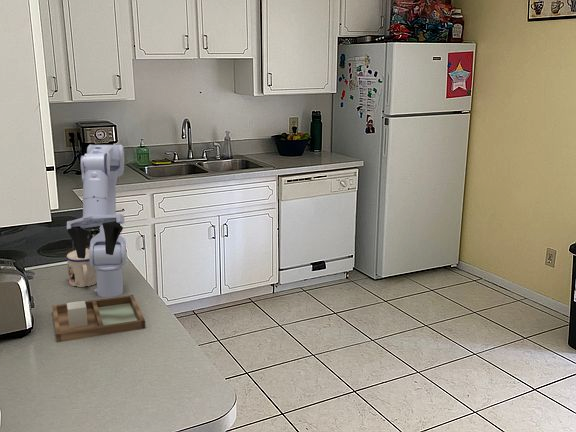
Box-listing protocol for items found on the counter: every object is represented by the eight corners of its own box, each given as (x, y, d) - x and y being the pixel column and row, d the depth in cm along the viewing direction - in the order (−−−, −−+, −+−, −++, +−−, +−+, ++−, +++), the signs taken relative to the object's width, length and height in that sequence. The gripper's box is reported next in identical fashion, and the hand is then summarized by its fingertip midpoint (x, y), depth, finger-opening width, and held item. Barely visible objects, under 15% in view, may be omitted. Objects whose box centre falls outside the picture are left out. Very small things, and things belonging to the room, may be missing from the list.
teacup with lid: (67, 279, 183) (64, 243, 180) (97, 275, 187) (95, 240, 184) (70, 293, 173) (67, 255, 170) (103, 288, 176) (100, 251, 173)
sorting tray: (53, 316, 157) (52, 305, 156) (133, 304, 165) (132, 294, 165) (57, 345, 141) (56, 334, 141) (145, 331, 150) (145, 320, 149)
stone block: (67, 321, 152) (66, 303, 151) (85, 318, 154) (84, 300, 153) (69, 328, 148) (67, 309, 147) (87, 325, 150) (86, 307, 149)
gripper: (59, 201, 141) (58, 257, 138) (113, 193, 138) (113, 250, 135) (76, 207, 148) (76, 261, 145) (128, 199, 144) (129, 254, 141)
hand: (95, 256), depth 140 cm, fingers open, 7 cm apart
